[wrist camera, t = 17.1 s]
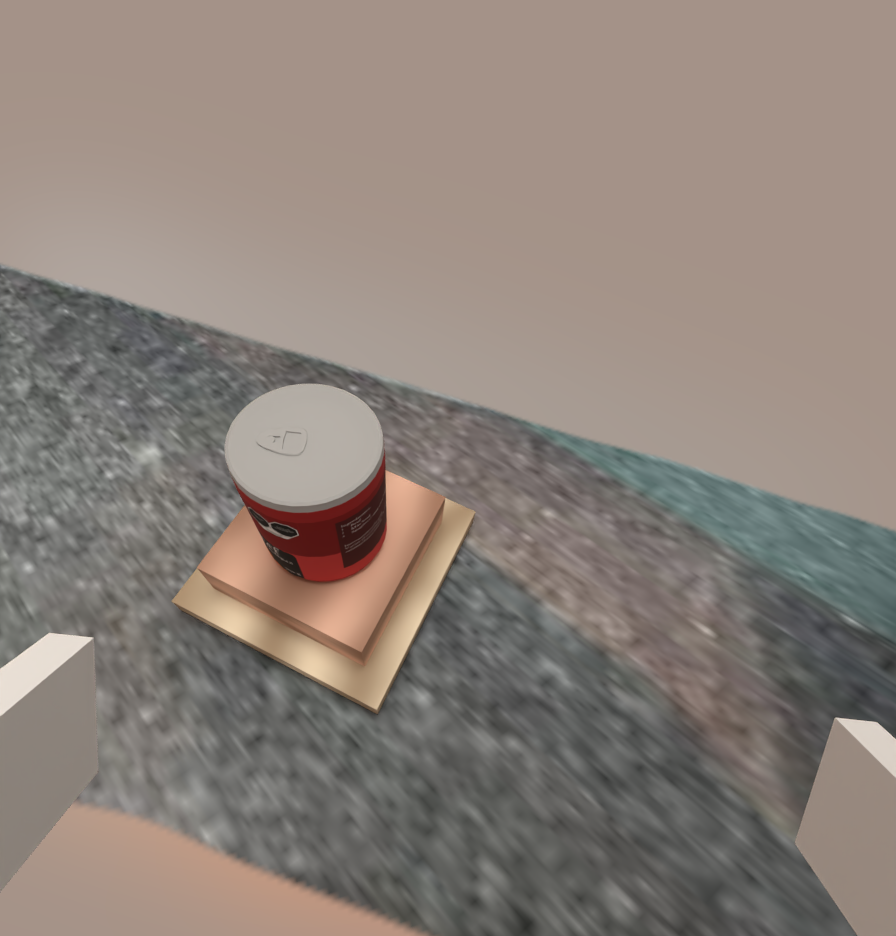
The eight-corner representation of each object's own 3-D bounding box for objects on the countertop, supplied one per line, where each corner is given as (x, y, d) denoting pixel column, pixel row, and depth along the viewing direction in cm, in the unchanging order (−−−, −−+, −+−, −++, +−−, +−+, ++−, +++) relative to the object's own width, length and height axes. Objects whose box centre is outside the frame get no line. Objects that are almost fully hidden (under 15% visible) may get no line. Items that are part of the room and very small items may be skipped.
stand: (472, 522, 45) (482, 486, 40) (377, 714, 37) (374, 699, 32) (303, 446, 48) (292, 403, 43) (181, 610, 40) (149, 581, 35)
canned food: (263, 493, 38) (220, 392, 29) (377, 474, 40) (371, 372, 31) (271, 597, 35) (225, 520, 25) (397, 573, 36) (397, 491, 27)
